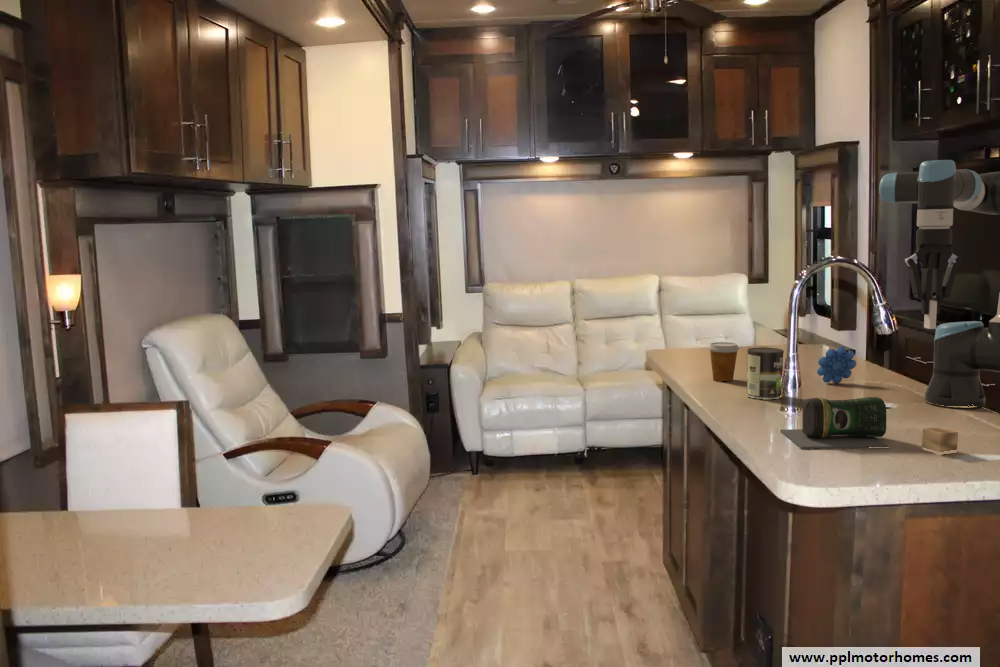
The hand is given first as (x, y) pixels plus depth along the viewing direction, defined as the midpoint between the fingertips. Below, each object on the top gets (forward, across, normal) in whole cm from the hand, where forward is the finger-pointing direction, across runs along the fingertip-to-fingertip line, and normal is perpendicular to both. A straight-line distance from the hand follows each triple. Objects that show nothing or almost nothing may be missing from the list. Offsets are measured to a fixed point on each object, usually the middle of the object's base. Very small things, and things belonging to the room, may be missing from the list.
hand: (929, 328), depth 203 cm
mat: (+26, -23, -2) cm, 35 cm away
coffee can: (+27, -24, +48) cm, 60 cm away
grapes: (+27, +4, +67) cm, 73 cm away
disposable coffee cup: (+27, -30, +74) cm, 85 cm away
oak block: (+27, -3, -13) cm, 30 cm away
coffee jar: (+21, -11, -1) cm, 24 cm away
